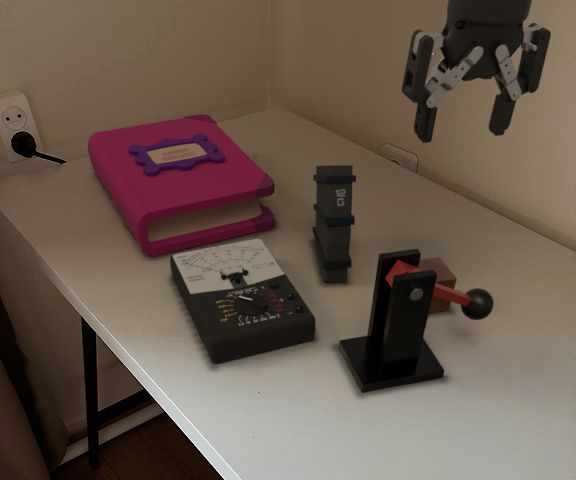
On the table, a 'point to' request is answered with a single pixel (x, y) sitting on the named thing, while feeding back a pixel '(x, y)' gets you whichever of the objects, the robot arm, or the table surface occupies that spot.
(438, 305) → the block
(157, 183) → the book
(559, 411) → the table surface
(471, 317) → the lever
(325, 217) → the magazine
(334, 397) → the table surface
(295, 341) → the multimeter
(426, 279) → the bracket
